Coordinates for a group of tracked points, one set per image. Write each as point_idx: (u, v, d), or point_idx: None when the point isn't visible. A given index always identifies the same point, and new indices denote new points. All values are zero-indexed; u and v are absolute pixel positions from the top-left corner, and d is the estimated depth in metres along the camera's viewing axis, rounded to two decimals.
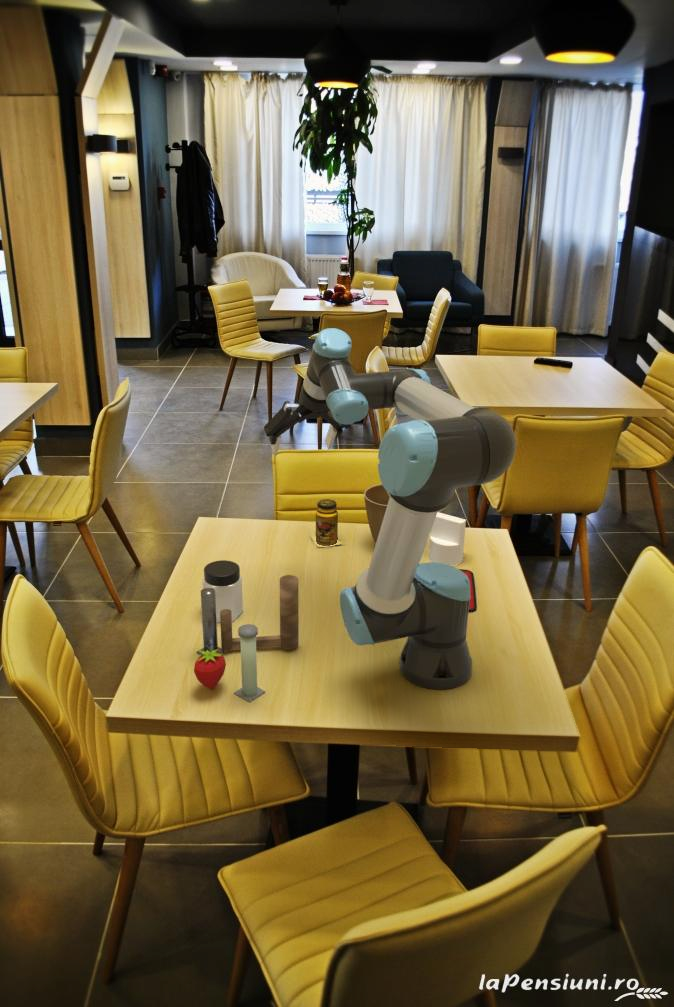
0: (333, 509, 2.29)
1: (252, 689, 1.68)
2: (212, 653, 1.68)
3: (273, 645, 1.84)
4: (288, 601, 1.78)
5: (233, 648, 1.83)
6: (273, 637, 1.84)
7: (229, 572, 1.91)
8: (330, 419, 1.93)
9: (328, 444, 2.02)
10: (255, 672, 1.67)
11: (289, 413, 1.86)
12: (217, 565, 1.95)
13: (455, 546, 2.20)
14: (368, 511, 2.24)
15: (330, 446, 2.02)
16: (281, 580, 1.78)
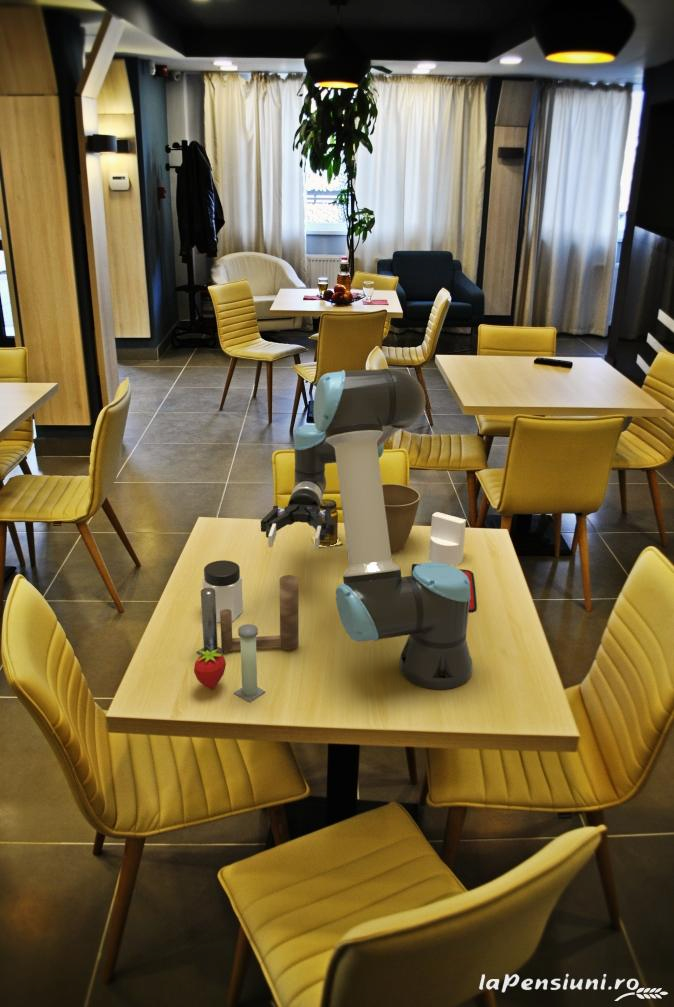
0: (333, 509, 2.29)
1: (252, 689, 1.68)
2: (212, 653, 1.68)
3: (273, 645, 1.84)
4: (288, 601, 1.78)
5: (233, 648, 1.83)
6: (273, 637, 1.84)
7: (229, 572, 1.91)
8: (315, 516, 1.93)
9: None
10: (255, 672, 1.67)
11: (276, 507, 1.97)
12: (217, 565, 1.95)
13: (455, 546, 2.20)
14: None
15: (316, 536, 1.83)
16: (281, 580, 1.78)
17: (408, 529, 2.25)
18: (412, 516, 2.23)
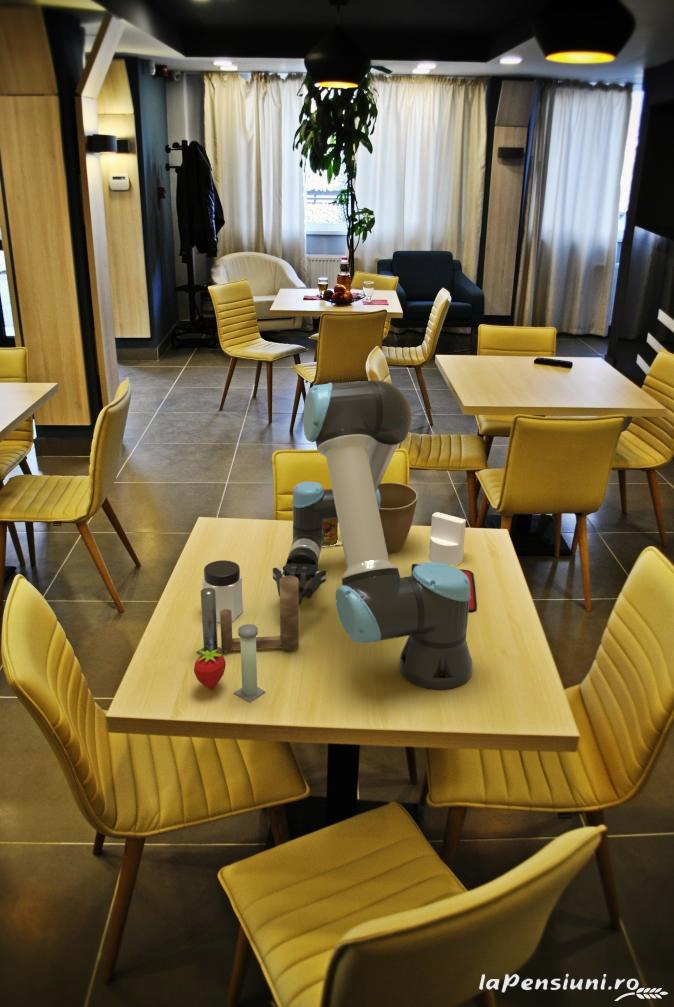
0: None
1: (252, 689, 1.68)
2: (212, 653, 1.68)
3: (273, 645, 1.83)
4: (288, 602, 1.78)
5: (233, 648, 1.82)
6: (273, 638, 1.83)
7: (229, 572, 1.91)
8: (303, 577, 1.95)
9: None
10: (255, 672, 1.67)
11: (277, 570, 1.98)
12: (217, 565, 1.95)
13: (455, 546, 2.20)
14: None
15: None
16: (281, 581, 1.78)
17: (408, 528, 2.25)
18: (411, 515, 2.23)
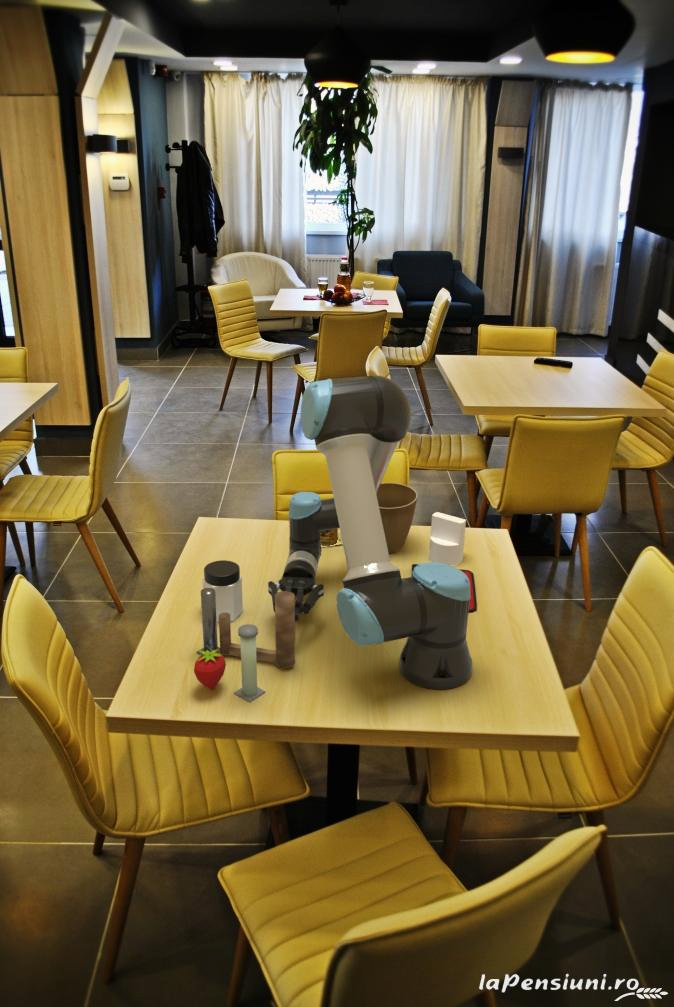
0: None
1: (252, 689, 1.68)
2: (212, 653, 1.68)
3: (268, 659, 1.79)
4: (280, 618, 1.72)
5: (230, 653, 1.81)
6: (269, 651, 1.78)
7: (229, 572, 1.91)
8: (301, 592, 1.88)
9: None
10: (255, 672, 1.67)
11: (273, 583, 1.92)
12: (217, 565, 1.95)
13: (455, 546, 2.20)
14: None
15: None
16: (276, 595, 1.72)
17: (407, 528, 2.25)
18: (411, 515, 2.23)
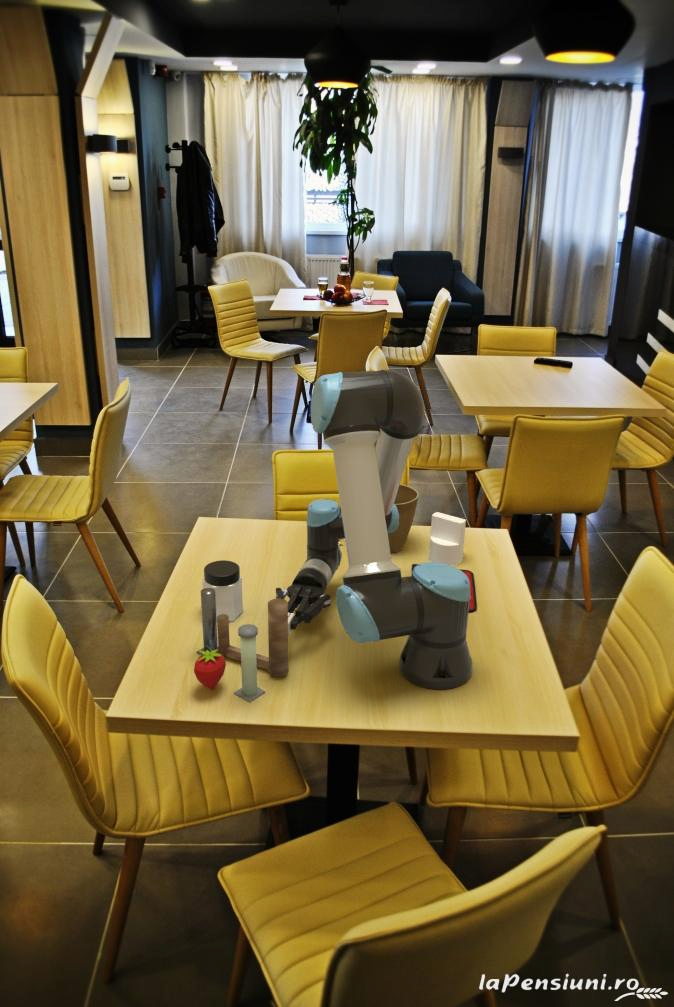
0: None
1: (252, 689, 1.68)
2: (212, 653, 1.68)
3: (262, 666, 1.76)
4: (271, 625, 1.69)
5: (227, 655, 1.80)
6: (263, 658, 1.76)
7: (229, 572, 1.91)
8: (305, 601, 1.85)
9: None
10: (255, 672, 1.67)
11: (280, 590, 1.89)
12: (217, 565, 1.95)
13: (455, 546, 2.20)
14: None
15: None
16: (270, 601, 1.70)
17: (408, 527, 2.25)
18: (412, 514, 2.24)
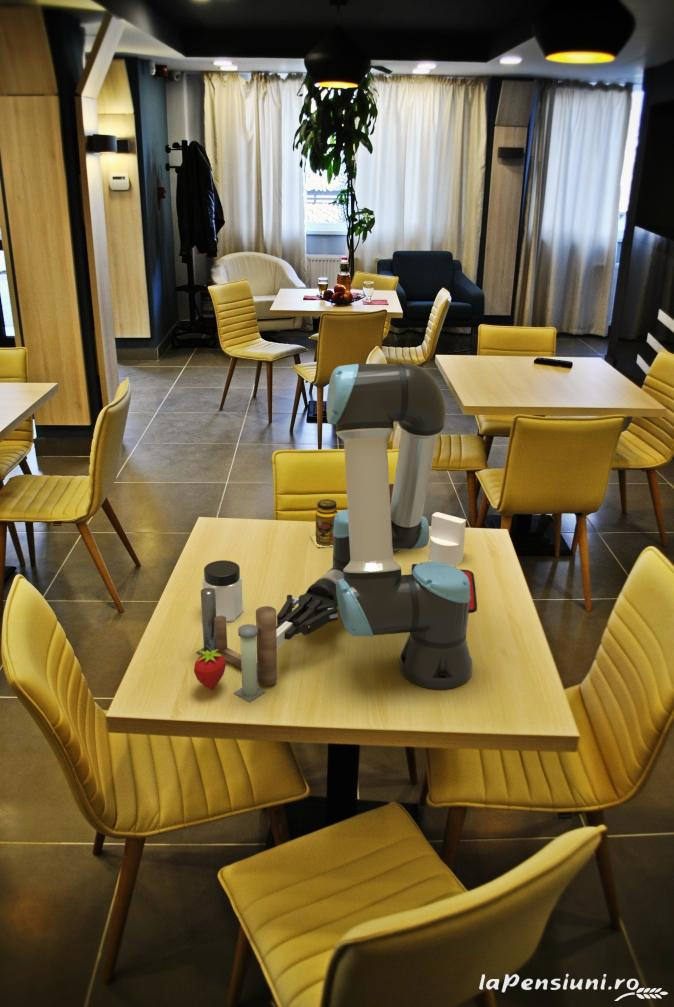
0: (333, 509, 2.29)
1: (252, 689, 1.68)
2: (212, 653, 1.68)
3: None
4: (258, 632, 1.67)
5: None
6: None
7: (229, 572, 1.91)
8: (309, 611, 1.81)
9: None
10: (255, 672, 1.67)
11: (290, 597, 1.86)
12: (217, 565, 1.95)
13: (455, 546, 2.20)
14: None
15: (277, 634, 1.72)
16: (259, 609, 1.67)
17: None
18: None
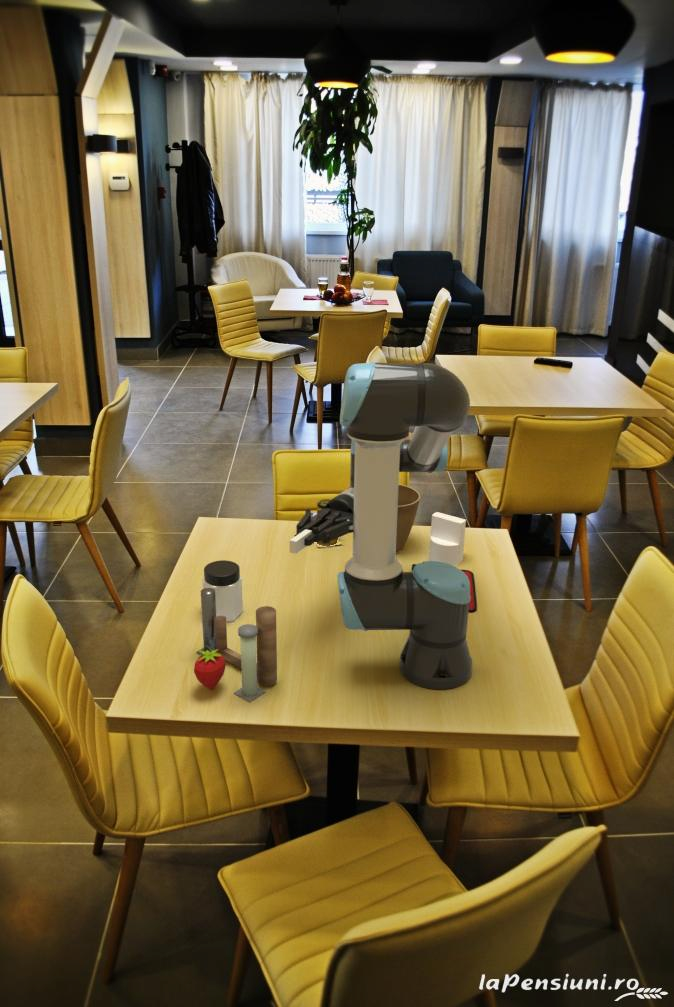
0: None
1: (252, 689, 1.68)
2: (212, 653, 1.68)
3: None
4: (258, 632, 1.67)
5: None
6: None
7: (229, 572, 1.91)
8: (328, 522, 1.81)
9: None
10: (255, 672, 1.67)
11: (309, 511, 1.86)
12: (217, 565, 1.95)
13: (455, 546, 2.20)
14: None
15: (297, 539, 1.72)
16: (259, 609, 1.67)
17: (408, 529, 2.25)
18: (412, 516, 2.23)
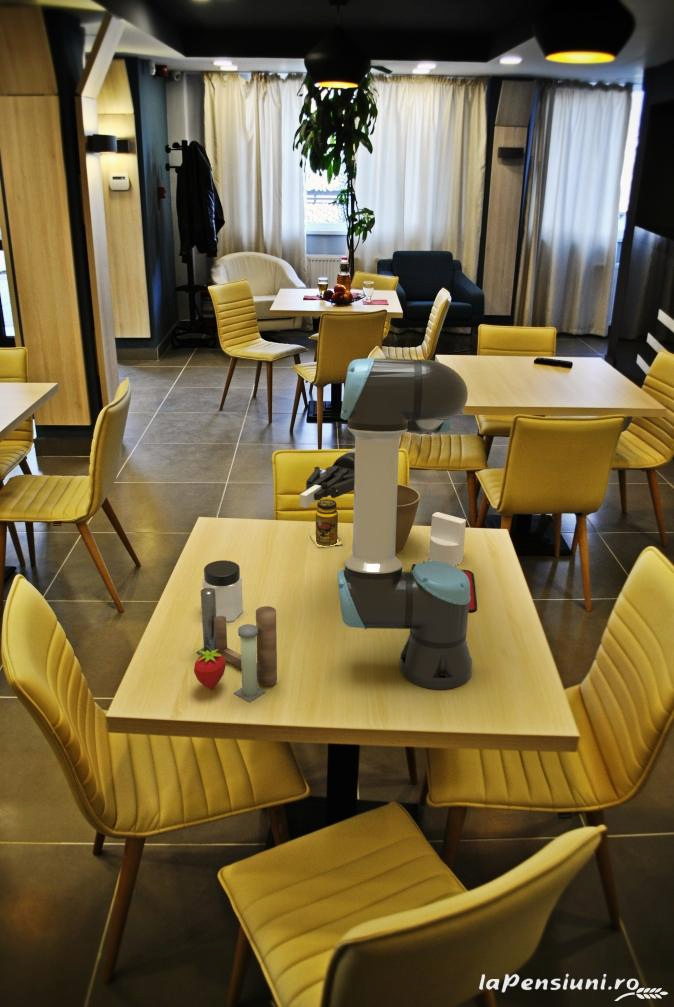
0: (333, 509, 2.29)
1: (252, 689, 1.68)
2: (212, 653, 1.68)
3: None
4: (258, 632, 1.67)
5: None
6: None
7: (229, 572, 1.91)
8: (337, 478, 1.88)
9: None
10: (255, 672, 1.67)
11: (318, 468, 1.93)
12: (217, 565, 1.95)
13: (455, 546, 2.20)
14: None
15: (307, 493, 1.79)
16: (259, 609, 1.67)
17: (408, 529, 2.25)
18: (412, 516, 2.23)
